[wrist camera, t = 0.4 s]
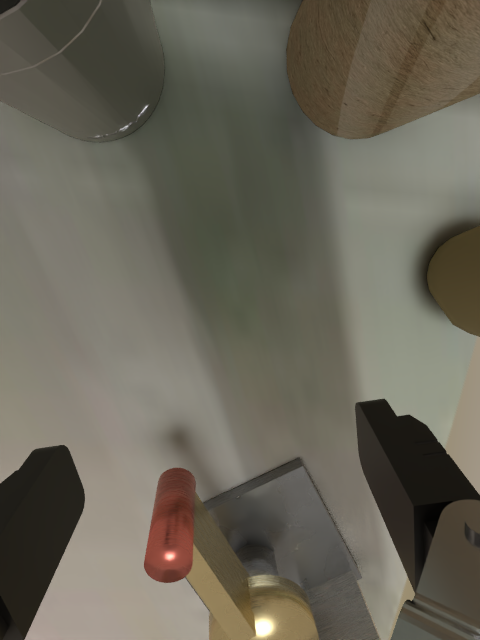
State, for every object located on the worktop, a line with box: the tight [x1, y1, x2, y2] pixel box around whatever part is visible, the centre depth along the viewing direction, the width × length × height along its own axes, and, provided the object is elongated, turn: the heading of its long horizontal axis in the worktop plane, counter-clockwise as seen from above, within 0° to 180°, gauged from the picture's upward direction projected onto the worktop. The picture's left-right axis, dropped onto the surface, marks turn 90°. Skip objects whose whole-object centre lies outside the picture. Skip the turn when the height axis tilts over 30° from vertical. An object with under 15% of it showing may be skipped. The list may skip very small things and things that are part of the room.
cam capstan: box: [144, 468, 319, 640], centre depth 27 cm, size 19×8×6 cm, turn 26°
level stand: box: [185, 457, 381, 640], centre depth 33 cm, size 15×14×8 cm
